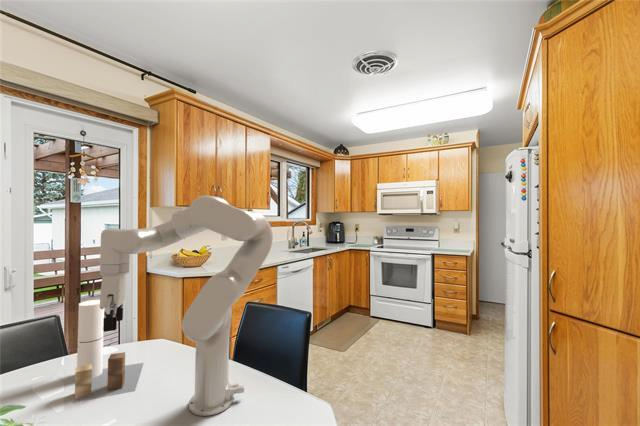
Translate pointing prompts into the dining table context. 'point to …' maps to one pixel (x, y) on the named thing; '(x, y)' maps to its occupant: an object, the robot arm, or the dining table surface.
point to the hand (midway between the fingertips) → (113, 325)
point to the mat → (101, 381)
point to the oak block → (83, 381)
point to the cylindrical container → (90, 336)
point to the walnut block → (116, 371)
